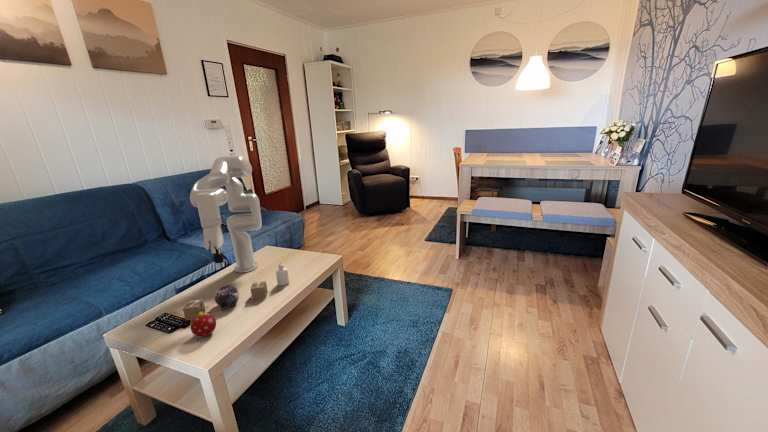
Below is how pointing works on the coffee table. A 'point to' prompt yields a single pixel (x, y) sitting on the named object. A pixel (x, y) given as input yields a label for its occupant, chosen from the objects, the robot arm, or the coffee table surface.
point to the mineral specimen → (226, 296)
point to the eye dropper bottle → (282, 275)
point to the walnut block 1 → (259, 290)
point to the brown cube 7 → (193, 309)
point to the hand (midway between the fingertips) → (219, 262)
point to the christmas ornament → (203, 324)
